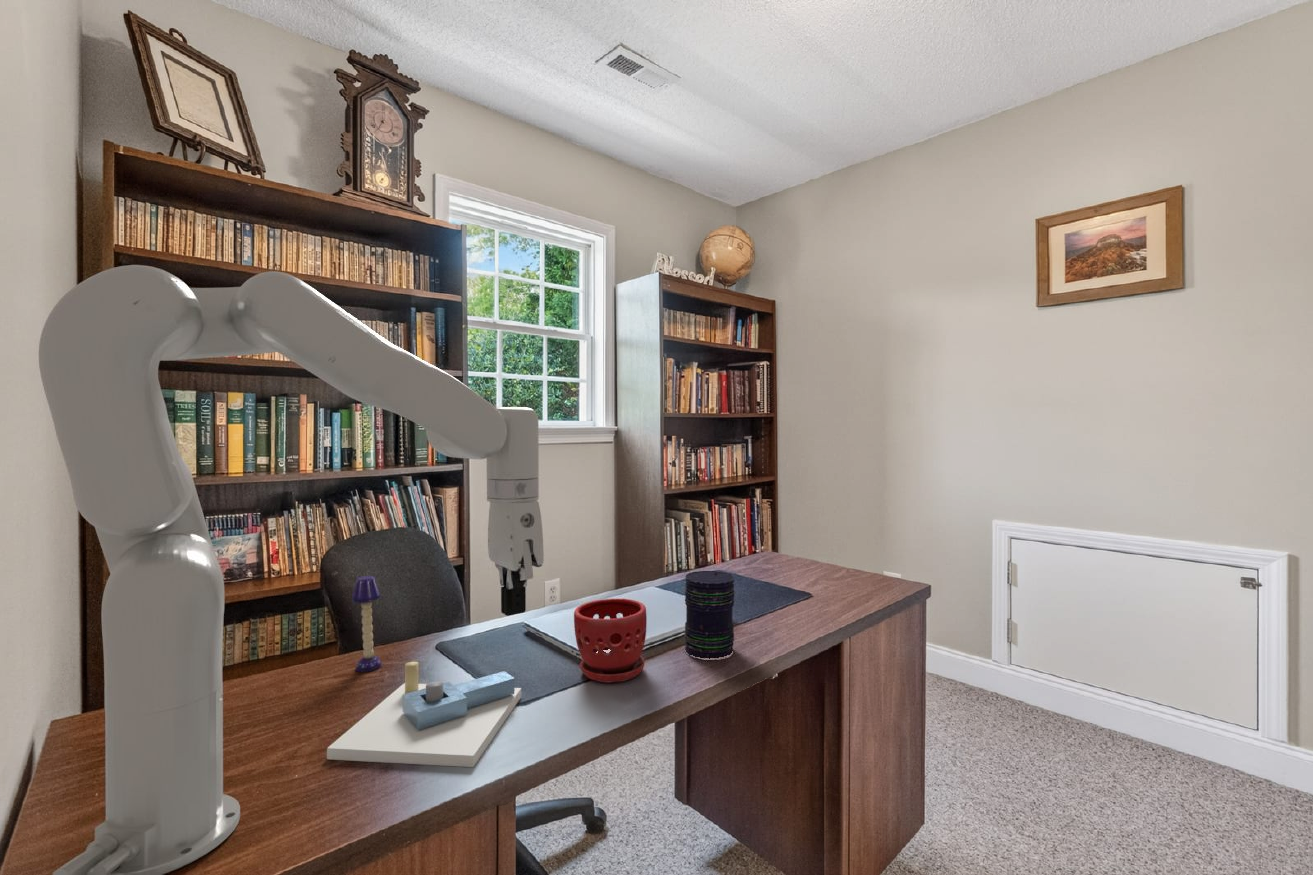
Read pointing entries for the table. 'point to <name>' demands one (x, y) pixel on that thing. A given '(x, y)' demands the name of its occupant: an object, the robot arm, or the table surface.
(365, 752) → the post board
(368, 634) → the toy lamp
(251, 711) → the table surface
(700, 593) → the storage jar
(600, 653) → the plant pot
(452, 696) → the square nut with handle
